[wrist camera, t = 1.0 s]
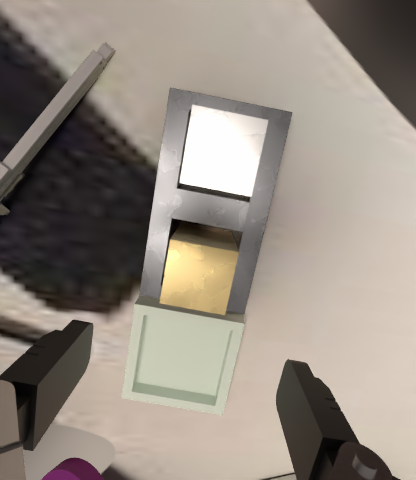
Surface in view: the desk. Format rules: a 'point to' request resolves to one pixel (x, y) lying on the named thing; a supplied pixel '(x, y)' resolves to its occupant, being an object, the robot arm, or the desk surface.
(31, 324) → the desk surface
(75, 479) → the mounting bracket
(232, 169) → the grey upright block
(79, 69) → the caliper
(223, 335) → the parts tray
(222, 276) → the golden yellow block
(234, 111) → the grey metal frame
